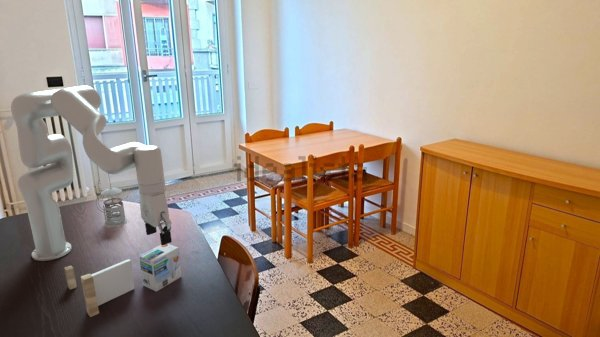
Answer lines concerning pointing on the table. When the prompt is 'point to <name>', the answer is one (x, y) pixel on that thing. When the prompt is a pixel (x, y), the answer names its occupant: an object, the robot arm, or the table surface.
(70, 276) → the tan wooden blocky piece
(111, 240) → the table surface
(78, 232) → the table surface
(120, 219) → the french press
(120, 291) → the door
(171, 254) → the light bulb box
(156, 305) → the table surface
